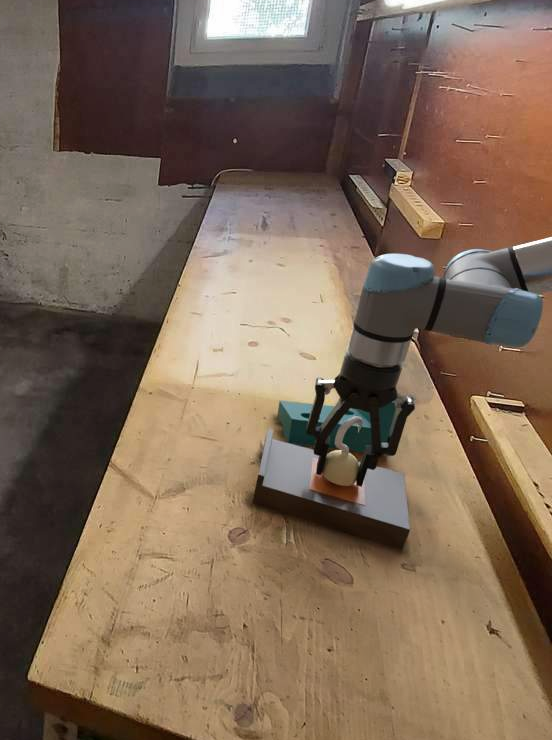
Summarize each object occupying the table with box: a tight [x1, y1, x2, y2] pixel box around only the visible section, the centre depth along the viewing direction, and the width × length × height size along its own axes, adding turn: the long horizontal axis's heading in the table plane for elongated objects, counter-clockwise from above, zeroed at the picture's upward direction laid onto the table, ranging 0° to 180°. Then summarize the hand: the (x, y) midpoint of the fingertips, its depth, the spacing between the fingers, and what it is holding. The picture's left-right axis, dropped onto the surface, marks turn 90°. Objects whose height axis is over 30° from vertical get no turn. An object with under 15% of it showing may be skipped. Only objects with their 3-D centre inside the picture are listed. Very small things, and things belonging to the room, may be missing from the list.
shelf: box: [251, 428, 411, 551], centre depth 96 cm, size 22×14×6 cm, turn 61°
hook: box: [322, 416, 363, 486], centre depth 92 cm, size 6×5×12 cm
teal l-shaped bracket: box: [276, 400, 396, 457], centre depth 111 cm, size 18×11×10 cm, turn 76°
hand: (338, 475), depth 95 cm, fingers closed on hook, 5 cm apart
